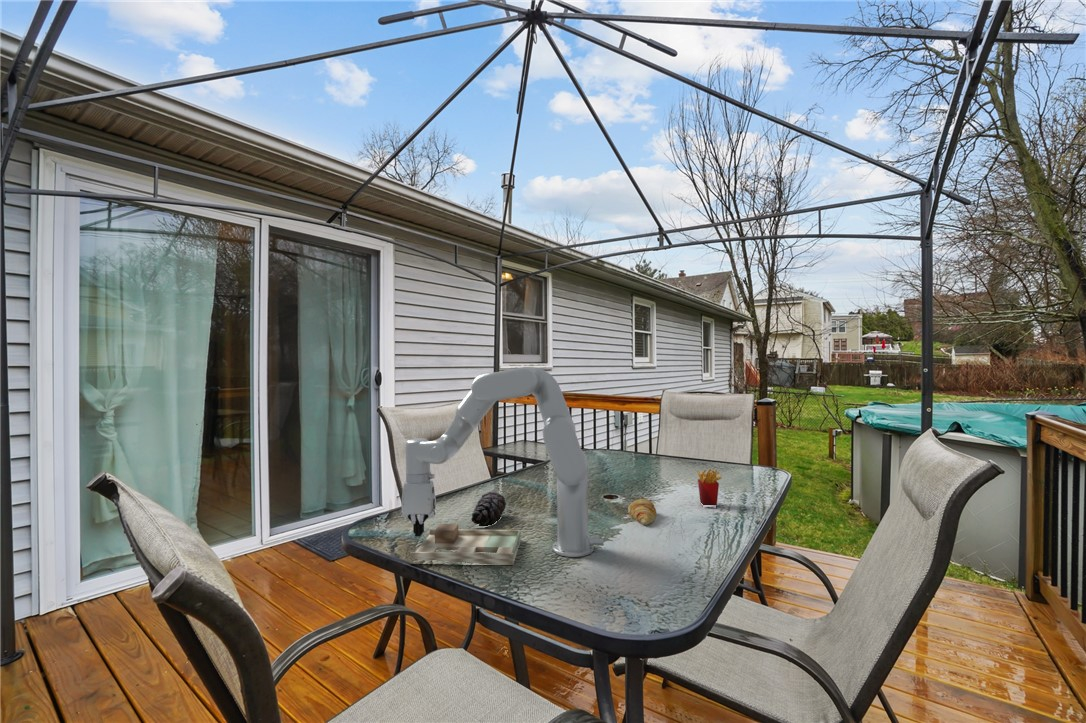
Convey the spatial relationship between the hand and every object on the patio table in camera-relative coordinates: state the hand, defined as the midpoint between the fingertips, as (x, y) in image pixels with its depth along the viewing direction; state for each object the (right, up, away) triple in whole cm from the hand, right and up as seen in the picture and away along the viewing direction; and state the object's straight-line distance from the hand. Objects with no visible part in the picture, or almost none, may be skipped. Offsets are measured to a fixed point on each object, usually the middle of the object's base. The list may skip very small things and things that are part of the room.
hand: (418, 535), depth 153 cm
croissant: (+76, -3, +24) cm, 80 cm away
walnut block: (+9, -1, -1) cm, 9 cm away
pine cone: (+20, -3, +22) cm, 30 cm away
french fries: (+106, -2, +36) cm, 112 cm away
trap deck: (+17, -3, -6) cm, 18 cm away
